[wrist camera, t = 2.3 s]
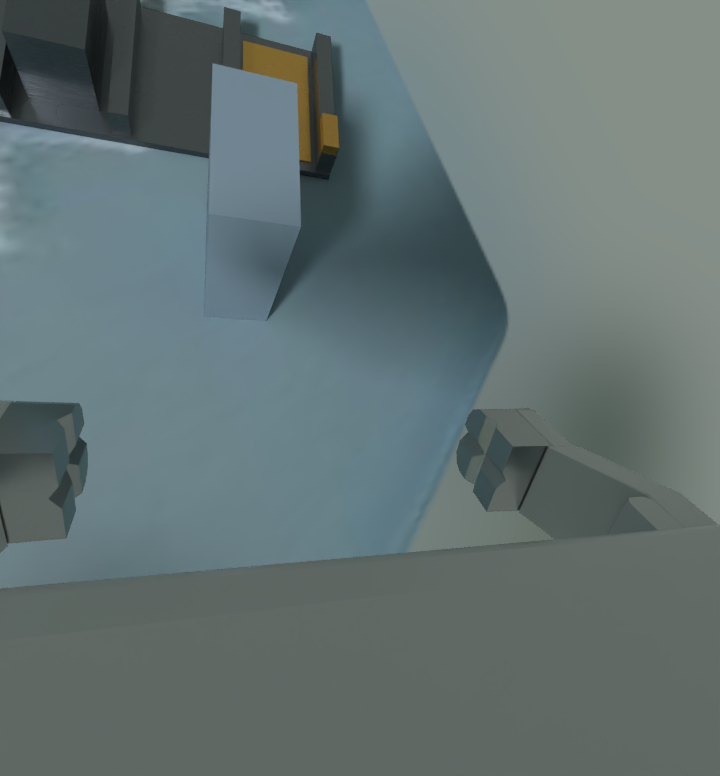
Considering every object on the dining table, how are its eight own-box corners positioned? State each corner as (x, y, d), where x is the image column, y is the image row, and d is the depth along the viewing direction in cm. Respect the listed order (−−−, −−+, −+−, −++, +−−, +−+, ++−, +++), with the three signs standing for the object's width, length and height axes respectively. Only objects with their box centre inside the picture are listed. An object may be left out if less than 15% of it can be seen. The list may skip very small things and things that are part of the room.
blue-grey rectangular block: (266, 321, 28) (301, 226, 19) (203, 316, 27) (208, 213, 18) (265, 216, 30) (296, 83, 20) (206, 208, 28) (212, 63, 19)
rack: (328, 179, 32) (348, 130, 28) (-11, 119, 26) (-49, 45, 22) (323, 60, 34) (340, -1, 30) (12, -21, 28) (-19, -111, 24)
